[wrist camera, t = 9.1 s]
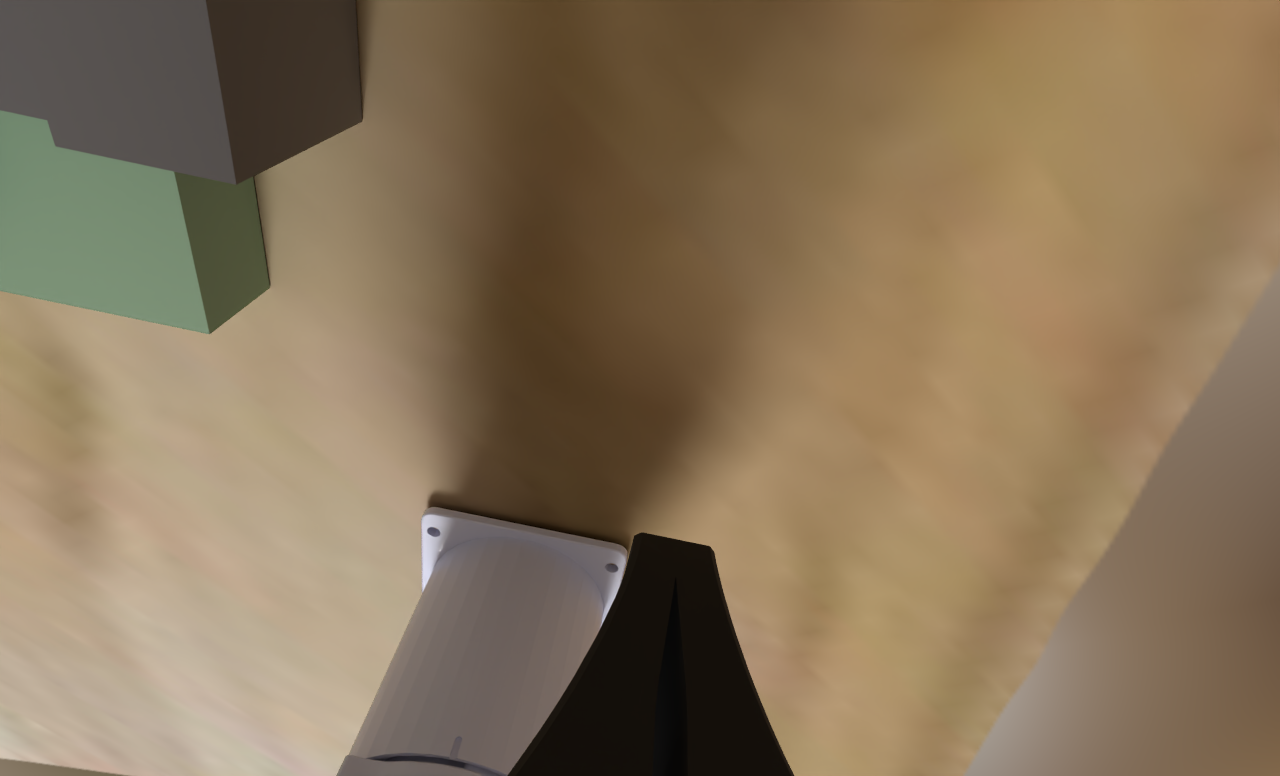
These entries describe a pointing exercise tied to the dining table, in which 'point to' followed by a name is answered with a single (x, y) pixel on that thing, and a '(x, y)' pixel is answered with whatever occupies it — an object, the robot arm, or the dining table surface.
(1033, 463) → the dining table surface
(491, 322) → the dining table surface
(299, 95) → the notched gray block
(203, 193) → the sage green base plate
